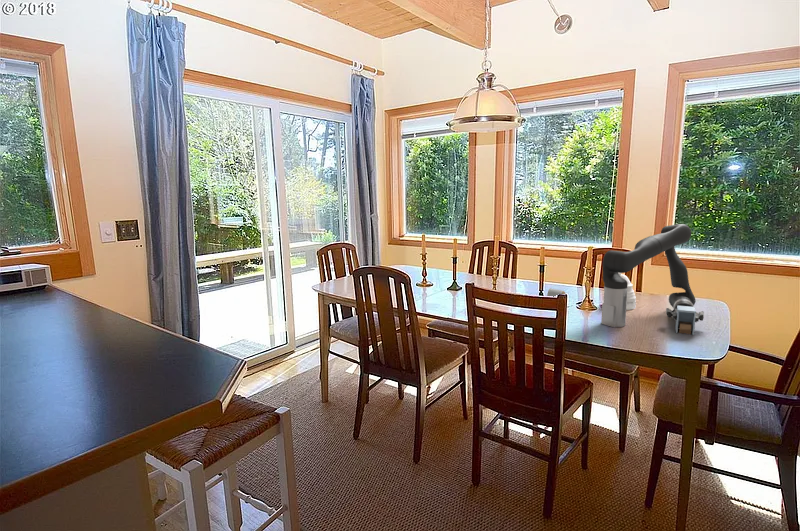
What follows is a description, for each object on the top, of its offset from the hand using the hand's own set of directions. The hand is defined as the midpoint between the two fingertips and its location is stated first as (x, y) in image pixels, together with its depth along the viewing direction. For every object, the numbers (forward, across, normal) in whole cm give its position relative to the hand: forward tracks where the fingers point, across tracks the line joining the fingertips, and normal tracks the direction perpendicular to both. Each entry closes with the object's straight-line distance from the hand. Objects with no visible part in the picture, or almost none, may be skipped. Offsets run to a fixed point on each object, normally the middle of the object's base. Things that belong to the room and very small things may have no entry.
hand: (685, 319), depth 176 cm
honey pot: (-34, -26, +6) cm, 43 cm away
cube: (-2, 0, +6) cm, 7 cm away
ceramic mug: (-31, -57, +7) cm, 65 cm away
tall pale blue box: (-2, 0, +6) cm, 6 cm away
